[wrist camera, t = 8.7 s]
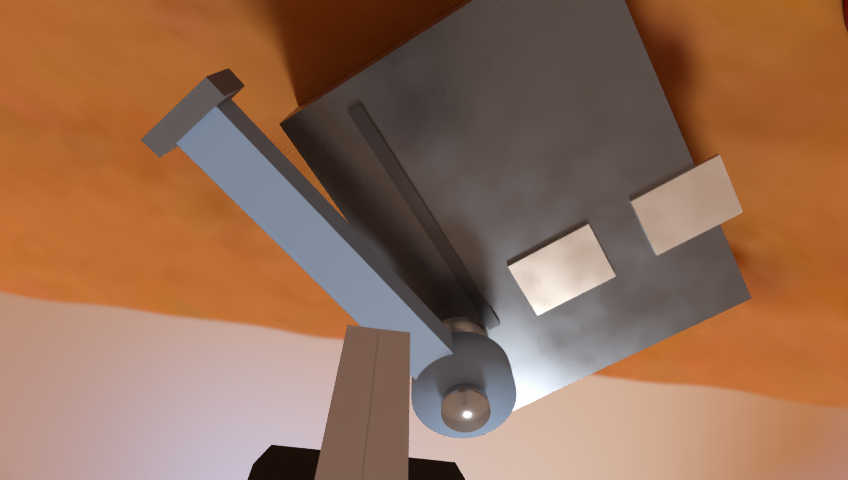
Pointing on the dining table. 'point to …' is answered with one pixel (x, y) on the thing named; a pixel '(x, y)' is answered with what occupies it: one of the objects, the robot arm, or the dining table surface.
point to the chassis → (528, 188)
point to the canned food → (846, 13)
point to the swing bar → (331, 249)
